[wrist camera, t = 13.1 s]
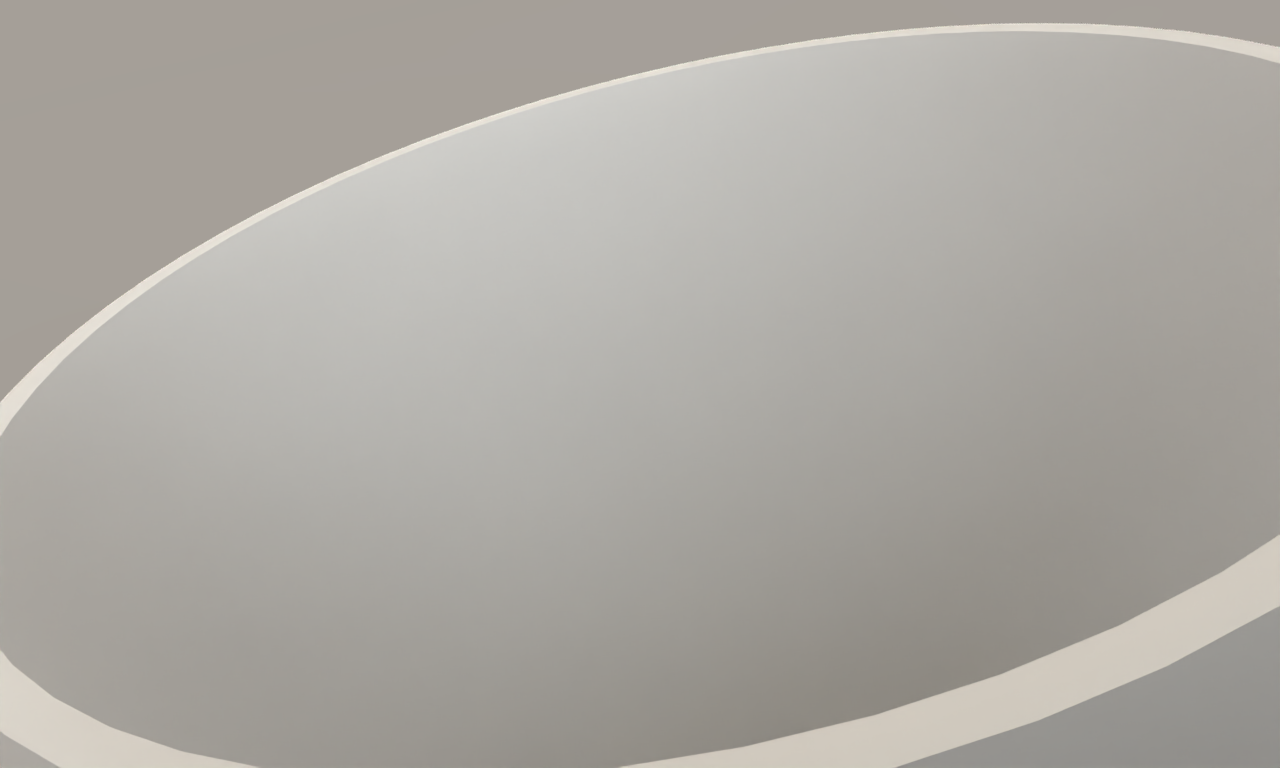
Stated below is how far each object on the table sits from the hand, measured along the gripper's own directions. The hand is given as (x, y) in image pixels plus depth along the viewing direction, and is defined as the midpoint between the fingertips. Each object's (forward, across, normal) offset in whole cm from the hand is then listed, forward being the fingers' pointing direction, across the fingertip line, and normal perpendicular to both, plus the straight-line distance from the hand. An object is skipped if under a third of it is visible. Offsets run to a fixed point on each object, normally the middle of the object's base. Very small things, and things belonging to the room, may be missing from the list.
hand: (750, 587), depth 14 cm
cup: (-5, 0, -10) cm, 11 cm away
